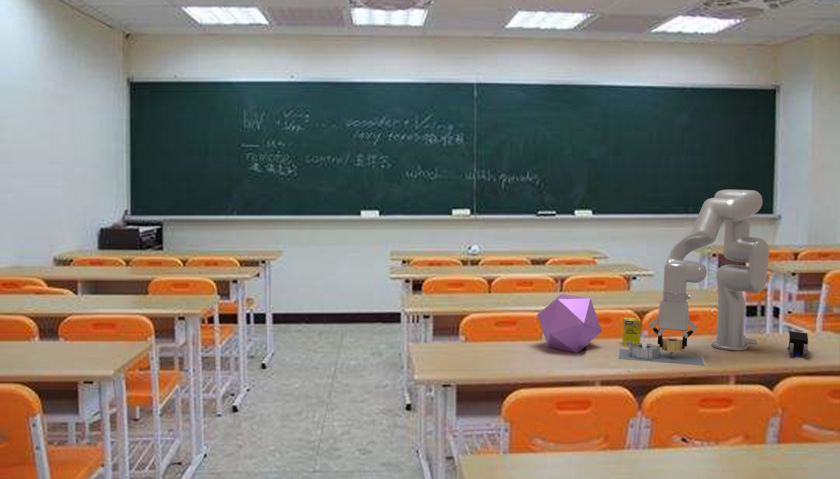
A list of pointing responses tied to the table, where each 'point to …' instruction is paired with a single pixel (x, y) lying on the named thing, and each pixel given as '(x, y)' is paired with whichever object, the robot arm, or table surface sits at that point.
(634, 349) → the steel gear
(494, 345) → the table surface
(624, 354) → the gear board
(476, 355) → the table surface
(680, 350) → the bronze gear
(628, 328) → the supplement box
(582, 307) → the icosahedron
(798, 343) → the figurine character
